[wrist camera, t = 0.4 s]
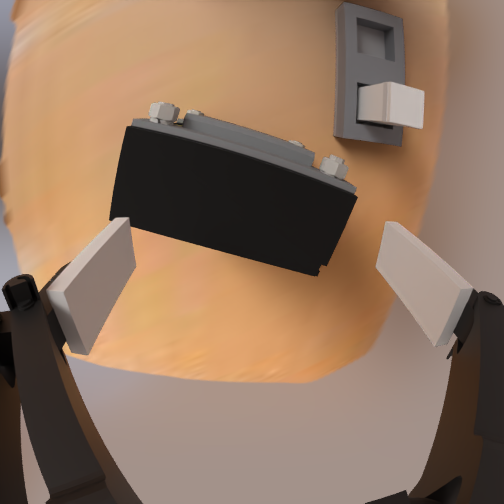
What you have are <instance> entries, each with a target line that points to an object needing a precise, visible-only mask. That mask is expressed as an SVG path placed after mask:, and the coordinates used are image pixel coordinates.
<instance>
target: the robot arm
mask: <svg viewBox="0 0 504 504" xmlns="http://www.w3.org/2000/svg"><path fill="white" fill-rule="evenodd" d="M135 268H136V262H135V256H134V249H133V243H132V236H131V228H130V221H129V217H124V218H115V219H114V220H113V221H112V222H111V223H109V224H108V225H107V226H106V227H105V228H104V229H103V230H102V231H101V232H100V233H99V234H98V235H97V236H96V237H95V238H94V239H93V240H92V241H91V242H90V243H89V244H88V245H87V246H86V247H85V248H84V249H83V250H82V251H81V252H80V253H79V254H78V255H77V256H76V257H75V259H74V260H73V261H72V262H69V263H68V264H66V265H65V266H63V267H61V268H60V270H59V271H58V272H57V273H56V274H55V275H54V276H53V277H52V278H51V281H49V282H48V283H47V284H46V285H45V286H44V287H43V288H42V289H41V291H40V292H38V290H37V287H36V284H35V281H34V278H33V276H32V275H29V274H22V275H19V276H16V277H14V278H12V279H10V280H9V281H7V282H6V283H5V285H4V286H3V288H2V292H3V294H4V296H5V299H6V301H7V304H8V306H9V308H10V311H5V312H0V504H28V501H27V495H26V489H25V482H24V474H23V465H22V454H21V433H20V410H21V406H22V410H23V414H24V418H25V423H26V426H27V430H28V434H29V437H30V441H31V444H32V447H33V450H34V453H35V456H36V459H37V462H38V465H39V468H40V470H41V473H42V476H43V478H44V480H45V483H46V485H47V488H48V490H49V494H50V499H49V500H48V501H47V502H46V504H143V503H142V502H141V500H140V499H139V498H138V496H137V495H136V494H135V492H134V491H133V489H132V488H131V486H130V485H129V483H128V482H127V480H126V479H125V477H124V476H123V474H122V473H121V471H120V469H119V468H118V466H117V465H116V463H115V461H114V460H113V458H112V456H111V455H110V453H109V451H108V449H107V448H106V446H105V444H104V442H103V440H102V438H101V436H100V435H99V433H98V431H97V429H96V427H95V425H94V423H93V421H92V419H91V417H90V415H89V412H88V410H87V408H86V406H85V404H84V402H83V399H82V397H81V395H80V392H79V390H78V387H77V385H76V383H75V380H74V378H73V375H72V373H71V370H70V367H69V364H68V361H67V359H66V356H65V353H64V351H63V349H62V347H63V345H64V344H65V342H67V344H68V346H69V348H70V350H71V352H72V353H76V354H82V355H89V353H90V351H91V349H92V347H93V345H94V343H95V341H96V339H97V337H98V335H99V333H100V331H101V329H102V327H103V325H104V323H105V321H106V319H107V317H108V316H109V314H110V312H111V310H112V308H113V306H114V304H115V303H116V301H117V299H118V297H119V295H120V294H121V292H122V290H123V288H124V287H125V285H126V283H127V281H128V280H129V278H130V276H131V274H132V273H133V271H134V269H135ZM376 268H377V270H378V271H379V272H380V273H381V275H382V276H383V277H384V279H385V280H386V281H387V282H388V284H389V285H390V286H391V288H392V289H393V290H394V291H395V293H396V294H397V295H398V297H399V298H400V299H401V301H402V302H403V303H404V305H405V306H406V307H407V309H408V310H409V311H410V313H411V314H412V315H413V317H414V318H415V320H416V321H417V323H418V324H419V325H420V327H421V328H422V330H423V331H424V332H425V334H426V335H427V337H428V338H429V340H430V341H431V343H432V344H433V346H434V347H437V346H441V345H445V344H448V342H449V340H450V338H451V336H452V334H453V332H454V334H455V335H456V336H457V337H458V338H457V340H456V341H455V344H454V345H453V347H452V349H451V351H450V352H449V354H448V356H447V359H449V358H450V356H452V362H451V369H450V375H449V381H448V386H447V391H446V396H445V401H444V406H443V409H442V413H441V417H440V421H439V425H438V429H437V432H436V436H435V440H434V443H433V446H432V449H431V452H430V455H429V458H428V461H427V464H426V466H425V469H424V472H423V475H422V477H421V479H420V481H419V482H418V484H417V485H416V486H415V487H414V489H413V490H412V491H411V492H410V494H409V495H407V492H406V490H404V491H402V492H399V493H396V494H393V495H390V496H387V497H384V498H381V499H378V500H375V501H371V502H367V503H365V504H504V305H503V304H502V302H501V300H500V299H499V298H498V297H496V296H495V295H494V294H492V293H489V292H486V291H481V292H479V293H478V292H477V291H476V290H474V288H473V287H472V286H471V285H470V284H469V283H468V282H467V281H466V280H465V279H464V278H463V277H461V276H460V275H459V274H458V273H457V272H456V271H455V270H454V269H453V268H452V267H451V266H449V265H448V264H447V263H446V262H445V261H444V260H443V259H441V258H440V257H439V256H438V255H437V254H436V253H435V252H434V251H432V250H431V249H430V248H429V247H428V246H426V245H425V244H424V243H423V242H422V241H420V240H419V239H418V238H417V237H416V236H414V235H413V234H412V233H411V232H409V231H408V230H407V229H406V228H404V227H403V226H402V225H400V224H399V223H398V222H390V221H386V222H385V227H384V232H383V237H382V241H381V246H380V250H379V255H378V259H377V263H376Z"/></svg>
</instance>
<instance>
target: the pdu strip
mask: <svg viewBox="0 0 504 504" xmlns="http://www.w3.org/2000/svg"><path fill="white" fill-rule="evenodd" d="M335 24H336V85H335V114H334V133H333V136H336V137H341V138H347V139H355V140H363V141H370V142H377V143H383V144H389V145H395V146H402V135H403V126H395V125H386V124H378V123H372V122H366V121H360V120H356V108H357V88H360V87H365V86H370V85H375V84H381V83H383V82H394V83H398V84H402V85H405V51H404V32H403V19H402V18H399V17H396V16H393V15H390V14H387V13H384V12H381V11H378V10H374V9H371V8H367V7H363V6H360V5H356V4H351V3H347V2H343V3H342V4H341V5H340V6H339V7H338V8H337V9H336V10H335Z"/></svg>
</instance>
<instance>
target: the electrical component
mask: <svg viewBox="0 0 504 504" xmlns="http://www.w3.org/2000/svg"><path fill="white" fill-rule="evenodd" d="M179 111H180V109H179V108H178V107H174V105H173V104H168V103H164V102H158V103H152V104H151V108H150V111H149V116H150V119H133V121H132V125H131V126H127V127H126V131H125V136H124V140H123V144H122V149H121V153H120V158H119V163H118V168H117V173H116V178H115V184H114V190H113V196H112V203H111V210H110V217H109V220H110V221H113V220H114V219H115V218H124V217H129V221H130V226H131V227H135V228H138V229H142V230H146V231H149V232H153V233H156V234H160V235H164V236H167V237H171V238H174V239H178V240H182V241H185V242H189V243H193V244H196V245H200V246H204V247H207V248H211V249H215V250H218V251H222V252H226V253H229V254H233V255H237V256H240V257H244V258H248V259H252V260H255V261H259V262H263V263H266V264H270V265H274V266H278V267H281V268H285V269H289V270H293V271H296V272H300V273H304V274H308V275H311V276H318V274H319V272H320V271H319V268H320V266H321V265H324V266H327V264H328V262H329V260H330V258H331V256H332V254H333V252H334V250H335V247H336V245H337V243H338V241H339V239H340V237H341V234H342V232H343V230H344V228H345V225H346V223H347V221H348V219H349V216H350V214H351V212H352V210H353V207H354V205H355V203H356V200H357V198H358V197H357V196H356V195H354V194H355V191H356V189H357V188H356V187H355V186H353V185H352V184H350V183H348V182H347V181H345V180H344V178H345V176H346V173H347V171H348V166H346V165H344V162H345V160H343V159H341V158H339V157H336V156H334V155H330V158H327V157H323V160H322V162H321V165H320V167H319V168H320V170H319V169H317V168H314V167H313V166H312V163H313V161H314V157H315V153H314V152H312V151H309V150H307V149H305V148H304V147H305V146H304V145H302V143H300V142H297V141H294V140H293V141H291V140H290V141H289V142H288V141H285V140H282V139H280V138H277V137H274V136H271V135H268V134H265V133H262V132H259V131H255V130H252V129H249V128H246V127H243V126H239V125H236V124H232V123H229V122H225V121H222V120H218V119H215V118H211V117H207V116H204V114H203V113H201V111H197V110H193V109H192V110H188V111H187V114H186V116H185V118H184V119H178V120H177V118H178V114H179ZM175 121H177V123H174V122H175Z"/></svg>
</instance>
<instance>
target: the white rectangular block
mask: <svg viewBox="0 0 504 504" xmlns="http://www.w3.org/2000/svg"><path fill="white" fill-rule="evenodd" d="M423 116H424V91H422V90H419V89H415V88H412V87H409V86H405V85H402V84H398V83H394V82H383V83H381V84H375V85H370V86H365V87H360V88H357V108H356V120H360V121H366V122H372V123H378V124H386V125H395V126H403V127H411V128H415V129H423Z"/></svg>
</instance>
